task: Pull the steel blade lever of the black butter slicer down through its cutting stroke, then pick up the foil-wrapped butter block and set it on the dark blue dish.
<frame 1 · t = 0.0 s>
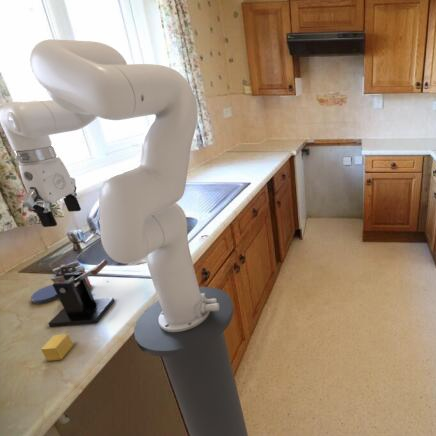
hand: (63, 218, 86), 25 cm above the counter, tool pointing down, fingers open, 9 cm apart
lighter: (77, 293, 98), on the counter
dish: (49, 295, 97), on the counter
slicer: (83, 313, 89), on the counter
butter: (60, 352, 76), on the counter
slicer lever: (83, 276, 84), point 12 cm above the counter, hinge at 26.0°
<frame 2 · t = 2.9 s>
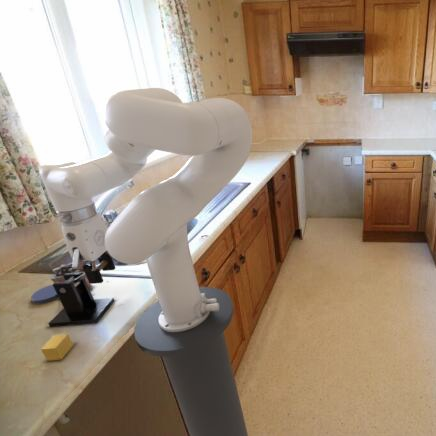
hand: (103, 275, 84), 12 cm above the counter, tool pointing down, fingers closed on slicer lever, 5 cm apart
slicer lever: (83, 276, 84), point 12 cm above the counter, hinge at 26.0°, touching gripper
everything else where it was.
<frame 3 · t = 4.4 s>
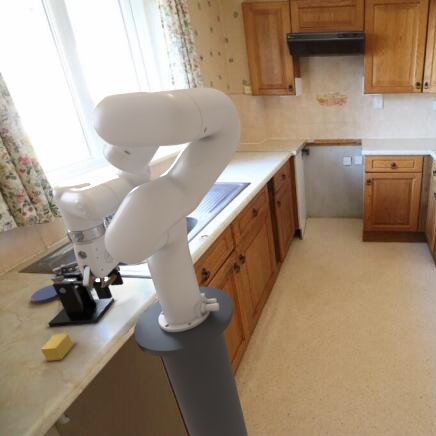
hand: (111, 290, 87), 7 cm above the counter, tool pointing down, fingers closed on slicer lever, 5 cm apart
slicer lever: (88, 282, 85), point 10 cm above the counter, hinge at -1.0°, touching gripper
everything else where it was.
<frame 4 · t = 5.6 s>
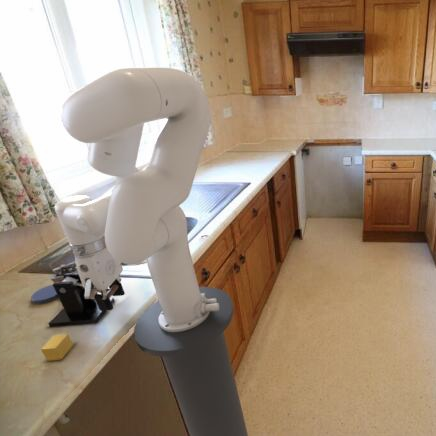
hand: (112, 301, 88), 3 cm above the counter, tool pointing down, fingers open, 5 cm apart
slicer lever: (89, 287, 86), point 8 cm above the counter, hinge at -21.1°
everything else where it was.
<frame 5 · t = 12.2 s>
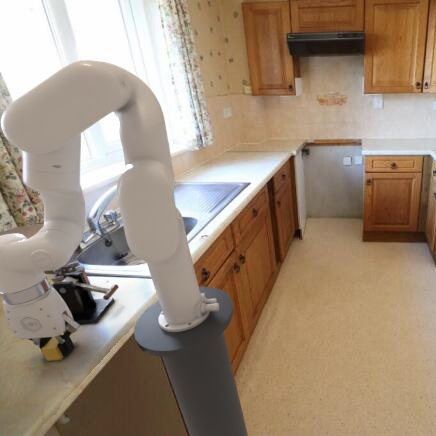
hand: (60, 352, 76), 0 cm above the counter, tool pointing down, fingers closed on butter, 3 cm apart
butter: (60, 352, 76), on the counter, touching gripper
everything else where it was.
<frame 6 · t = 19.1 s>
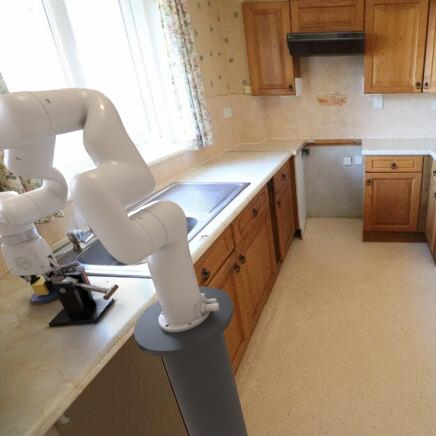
hand: (47, 289, 96), 2 cm above the counter, tool pointing down, fingers closed on butter, 3 cm apart
butter: (47, 290, 96), point 2 cm above the counter, touching gripper
everything else where it was.
when the fingers open (3 cm above the counter, at t = 22.0 s): butter drops 1 cm, resting on dish.
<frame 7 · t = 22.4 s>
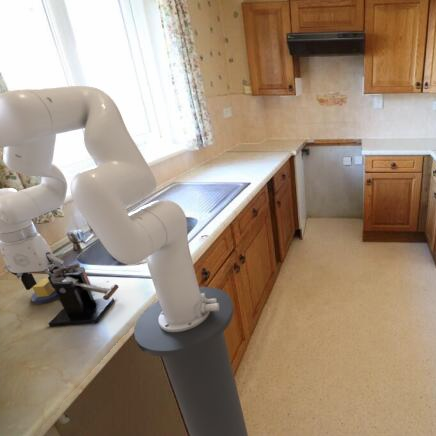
hand: (44, 285, 96), 3 cm above the counter, tool pointing down, fingers open, 6 cm apart
butter: (48, 291, 97), point 1 cm above the counter, touching dish
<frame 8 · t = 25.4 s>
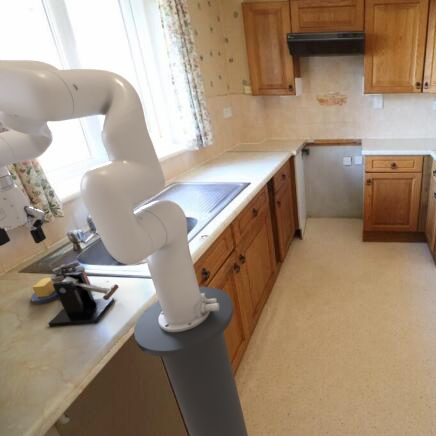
hand: (23, 242, 90), 18 cm above the counter, tool pointing down, fingers open, 9 cm apart
at the end: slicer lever at -21° (first picture: +26°); butter 0.1 cm off-centre on the dish, point 1.2 cm above the dish's base; butter tilted 0° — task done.
